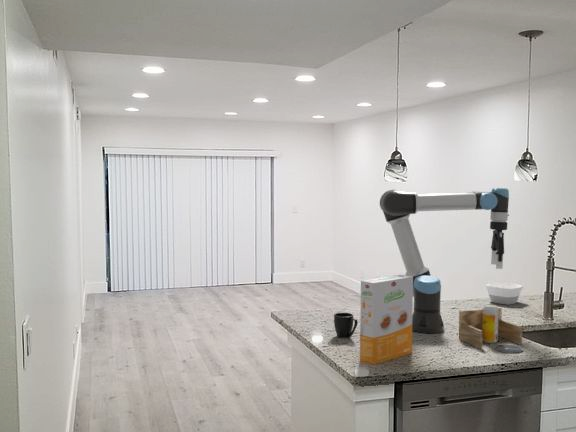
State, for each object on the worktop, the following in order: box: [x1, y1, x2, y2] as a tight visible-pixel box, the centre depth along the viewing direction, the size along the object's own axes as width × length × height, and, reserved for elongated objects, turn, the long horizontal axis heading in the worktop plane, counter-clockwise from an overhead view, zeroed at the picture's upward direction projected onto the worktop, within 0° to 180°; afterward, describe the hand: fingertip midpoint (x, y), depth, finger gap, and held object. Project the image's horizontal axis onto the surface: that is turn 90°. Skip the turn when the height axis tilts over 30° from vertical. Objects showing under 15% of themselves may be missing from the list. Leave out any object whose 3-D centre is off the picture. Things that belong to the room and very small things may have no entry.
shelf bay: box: [458, 307, 523, 349], centre depth 243 cm, size 20×14×12 cm
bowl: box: [485, 281, 524, 305], centre depth 321 cm, size 18×18×9 cm
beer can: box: [482, 304, 499, 344], centre depth 242 cm, size 6×6×15 cm
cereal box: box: [359, 274, 414, 365], centre depth 221 cm, size 22×6×30 cm, turn 129°
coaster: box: [495, 344, 523, 354], centre depth 231 cm, size 10×10×1 cm
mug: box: [333, 312, 359, 339], centre depth 248 cm, size 8×12×10 cm
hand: (496, 266), depth 272 cm, fingers open, 13 cm apart
